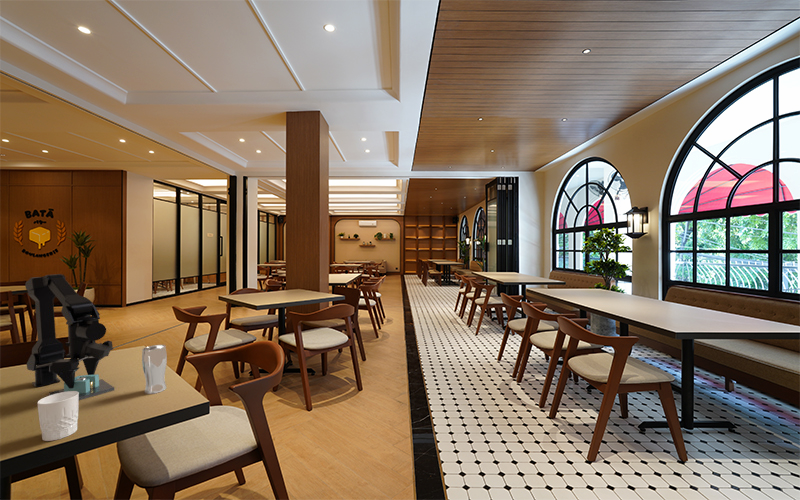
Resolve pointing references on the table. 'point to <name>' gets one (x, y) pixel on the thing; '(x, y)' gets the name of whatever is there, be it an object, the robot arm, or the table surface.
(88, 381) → the teal u-channel block
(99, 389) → the base plate
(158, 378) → the beer glass
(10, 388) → the table surface
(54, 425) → the white cup
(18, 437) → the table surface
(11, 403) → the table surface
